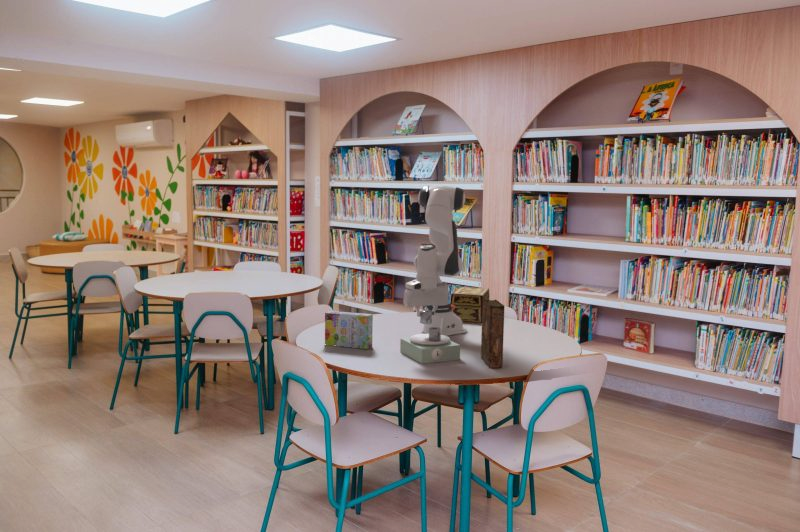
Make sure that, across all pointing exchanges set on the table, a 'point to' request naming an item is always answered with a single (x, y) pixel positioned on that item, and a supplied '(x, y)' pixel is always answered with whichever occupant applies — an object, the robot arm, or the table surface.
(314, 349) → the table surface
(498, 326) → the book
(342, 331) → the snack box
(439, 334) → the spacer
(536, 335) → the table surface
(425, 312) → the cylinder
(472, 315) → the decorative box
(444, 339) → the scale
